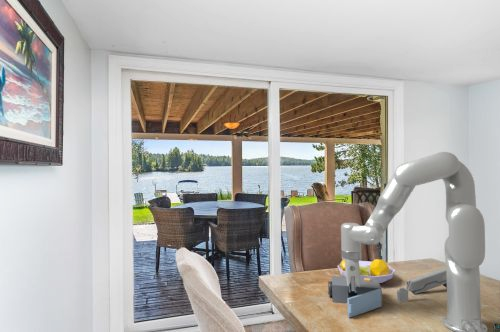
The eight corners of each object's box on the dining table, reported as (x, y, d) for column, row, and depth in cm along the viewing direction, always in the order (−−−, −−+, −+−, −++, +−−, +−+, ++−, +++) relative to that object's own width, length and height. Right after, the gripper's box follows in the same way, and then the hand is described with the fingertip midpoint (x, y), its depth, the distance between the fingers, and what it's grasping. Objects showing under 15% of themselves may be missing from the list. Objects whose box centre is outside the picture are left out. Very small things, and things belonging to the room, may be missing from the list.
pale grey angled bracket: (399, 302, 128) (399, 282, 129) (397, 300, 130) (396, 281, 130) (415, 300, 130) (414, 281, 130) (412, 299, 131) (411, 279, 132)
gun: (463, 287, 140) (458, 266, 140) (414, 305, 136) (409, 282, 136) (459, 285, 142) (454, 264, 142) (410, 302, 138) (405, 280, 138)
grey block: (381, 306, 125) (381, 286, 125) (328, 301, 130) (328, 282, 130) (377, 294, 136) (377, 276, 137) (328, 291, 141) (328, 273, 142)
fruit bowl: (357, 268, 175) (357, 248, 175) (406, 281, 153) (405, 257, 153) (324, 279, 158) (323, 256, 159) (373, 295, 136) (372, 268, 137)
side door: (384, 306, 123) (383, 289, 124) (351, 318, 114) (350, 299, 114) (380, 305, 125) (380, 288, 125) (347, 316, 115) (347, 298, 116)
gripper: (363, 260, 115) (364, 311, 115) (359, 250, 130) (361, 295, 129) (342, 259, 117) (343, 309, 117) (341, 250, 132) (342, 294, 131)
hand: (352, 301), depth 123 cm, fingers closed
